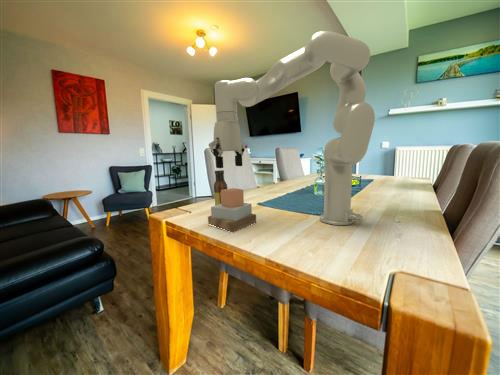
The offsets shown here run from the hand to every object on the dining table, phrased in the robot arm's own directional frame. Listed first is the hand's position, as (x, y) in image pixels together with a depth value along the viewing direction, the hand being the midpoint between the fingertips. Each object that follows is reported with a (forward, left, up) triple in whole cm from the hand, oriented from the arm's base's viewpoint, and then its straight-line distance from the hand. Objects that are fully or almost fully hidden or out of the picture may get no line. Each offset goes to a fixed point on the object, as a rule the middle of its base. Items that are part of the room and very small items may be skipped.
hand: (229, 166), depth 80 cm
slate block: (0, 0, -19) cm, 19 cm away
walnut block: (0, 0, -23) cm, 23 cm away
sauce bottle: (+14, -8, -22) cm, 27 cm away
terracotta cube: (0, 0, -15) cm, 15 cm away
